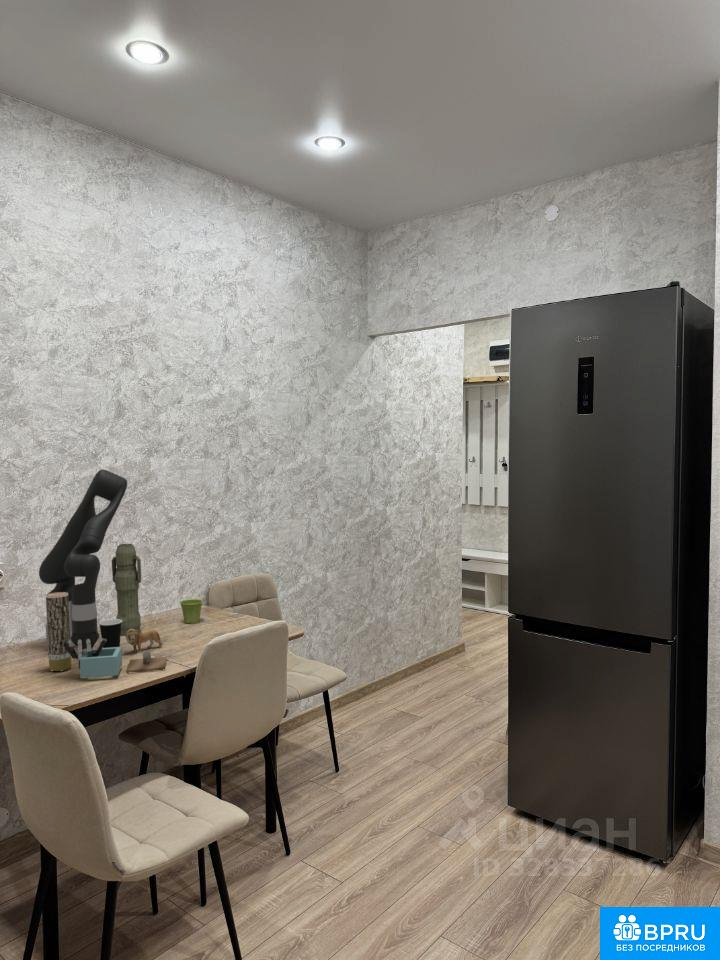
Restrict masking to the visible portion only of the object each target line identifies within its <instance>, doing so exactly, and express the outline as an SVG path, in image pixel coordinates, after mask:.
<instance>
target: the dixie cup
mask: <svg viewBox="0 0 720 960" xmlns="http://www.w3.org/2000/svg"><path fill="white" fill-rule="evenodd" d="M121 622H122V620H120V619H116V618H109V619H105V620H100V621H99V622H98V625H99V630H100V636H101V638H103V639H107V641H106V643H105V645H104V646H103V648H111V647H121V636H120V635H121Z"/></svg>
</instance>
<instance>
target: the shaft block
mask: <svg viewBox="0 0 720 960" xmlns="http://www.w3.org/2000/svg"><path fill="white" fill-rule="evenodd" d="M151 654H152V652H151V651H144V652H142V658H133V659H130V660H129V662H128V665H127V667H126V670H125V674H126V673H127V674H130V673H129V672H139V673H144V672H143V671H151V672H154V671H153V670H162V671H164V670H163V669H165V670H166V667H167V662H168V656H159V657H151V656H152V655H151ZM166 661H167V662H166ZM165 666H166V667H165Z"/></svg>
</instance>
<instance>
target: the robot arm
mask: <svg viewBox="0 0 720 960" xmlns="http://www.w3.org/2000/svg"><path fill="white" fill-rule="evenodd" d="M90 482H91V483H90V485H89V486H88V488H87V490H86V492H85V494H84V496H83V498H82V500H81V502H80V504H78V507H77V508H76V509H75V512H74V513H73V515H72V516H71V518H69V521H68V522H67V524H66V526H65V528H64V530H63V532H62V533H61V536H60V537H59V538H58V539H57V541H56V543H55V544H54V546H53V548H52V549H51V550H50V552H48V554H47V555H46V556H45V558H44V559H43V561H42V562H41V564H40V566H39V571H38V572H39V573H38V574H39V575H38V576H39V579H40V581H41V582H43V583H44V584H46V585H55V586H54V588H53V589H52V590H51V591H49V592H48V593H47V594H50V593H57V592H67V593H68V599H69V622H70V640H68V641H65V643H64V644H63V646H64V647H65V649H66V650H67V651H68V653H69V654H70V655H71V659H73V660H75V659H76V660H77V661H78V669H79V671H80V658H81V657H82V655H83V654H84V652H85V650H86V649H87V653H88V657H97V656H98V655H99V653H100V651H101V650H102V648H103V646H104V645H105V643H106V641H107V639H103V638H102V637H100V633H98V608H97V603H96V602H97V600H96V587H97V582H98V578H99V574H100V571H101V561H100V559H99V557H98V556H97V555H95V553H97V552H99V551H100V550H101V548H102V545H103V542H104V539H105V537H106V534H107V531H108V528H109V527H110V525H111V522H112V520H113V518H114V516H115V515H116V513H117V510H118V508H119V506H120V504H121V502H122V501H123V498H124V495H125V493H126V492H127V491H126V490H127V488H128V480H127V479H126V478H125V477H124V476H120V475H118V474H116V473H113V472H111V471H109V470H106V469H103V468H102V469H100V470H99V471H97V472H96V473H95V475H94V476H93V479H92V481H90ZM96 497H100V498H102V499H104V500H106V501H109V503H108V505H107V506H106V508H104V509H102V510H101V511H100V512H98V513H97V514H96V507H95V500H96V499H95V498H96ZM81 577H82V578H83V577H84V578H85V579H84V581H83V582H81V583H77V584H76V578H81ZM45 638H46V639H45V640H46V650H47V649H48V634H47V623H46V624H45ZM97 642H98V643H97ZM96 643H97V644H98V645H99V646H98V647H97V648H98V649H97V648H96V649H97V651H96V652H95V653H93V649H94V646H95V645H96ZM73 646H74V647H73ZM75 647H76V649H77V651H76V650H75Z"/></svg>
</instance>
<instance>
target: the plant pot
mask: <svg viewBox="0 0 720 960" xmlns="http://www.w3.org/2000/svg"><path fill="white" fill-rule="evenodd" d="M203 603H204V600H202V599H193V598H190V599H184V600H181V601H180V602H179V604H180V608H181V609H182V616H183V622H184V624H186V623H188V624H191V623H194V624H198V623H199V622H200V619H201V612H202V611H201V610H202V606H203ZM197 622H198V623H197Z"/></svg>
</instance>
